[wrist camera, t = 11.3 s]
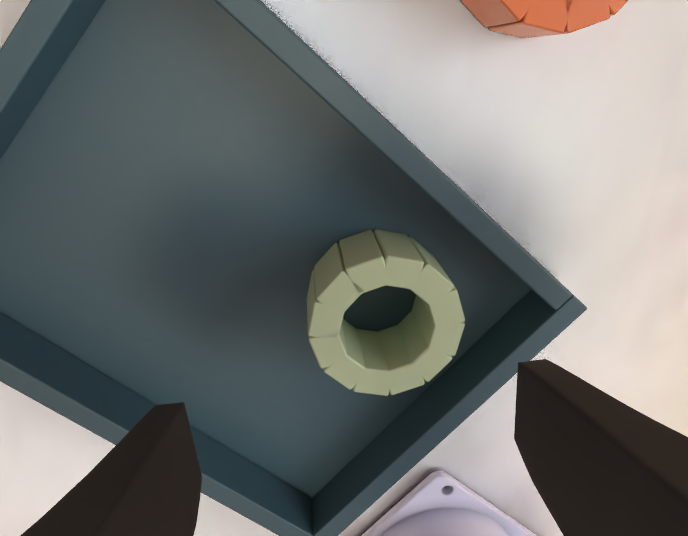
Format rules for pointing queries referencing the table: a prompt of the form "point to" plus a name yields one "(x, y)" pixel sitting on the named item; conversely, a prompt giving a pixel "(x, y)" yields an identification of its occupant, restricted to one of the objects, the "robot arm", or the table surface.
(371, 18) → the table surface
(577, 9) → the copper ring
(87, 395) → the dark teal tray
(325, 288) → the sage ring
